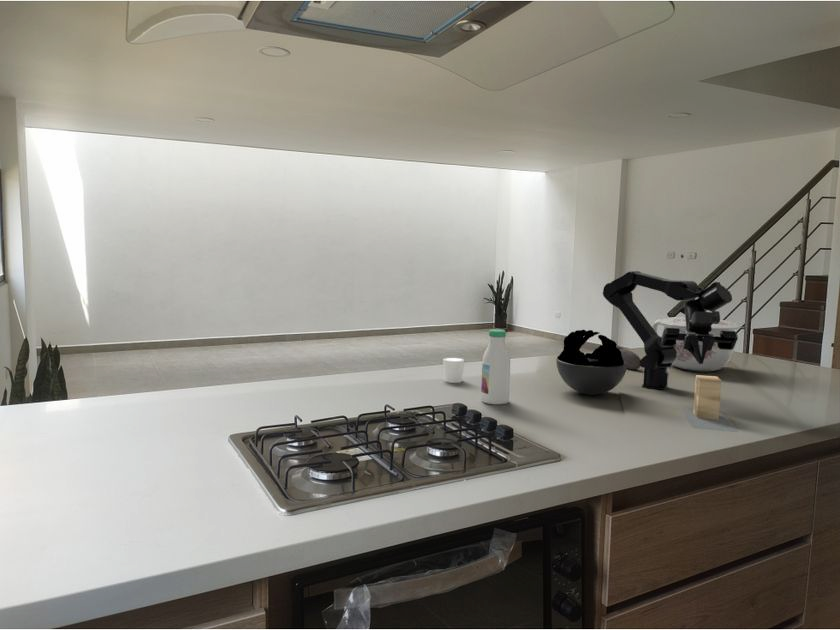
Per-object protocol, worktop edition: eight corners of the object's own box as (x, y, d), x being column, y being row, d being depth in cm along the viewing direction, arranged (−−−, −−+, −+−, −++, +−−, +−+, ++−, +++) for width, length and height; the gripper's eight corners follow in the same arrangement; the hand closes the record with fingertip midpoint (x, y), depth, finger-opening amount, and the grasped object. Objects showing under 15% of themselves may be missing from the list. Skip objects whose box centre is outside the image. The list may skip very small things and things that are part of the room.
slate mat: (681, 410, 157) (681, 409, 157) (722, 413, 154) (722, 412, 154) (693, 429, 140) (693, 427, 140) (739, 433, 138) (739, 431, 138)
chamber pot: (753, 377, 201) (758, 317, 198) (673, 375, 201) (677, 315, 199) (713, 361, 228) (718, 308, 226) (643, 359, 229) (646, 307, 226)
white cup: (439, 381, 184) (440, 360, 183) (446, 377, 191) (447, 356, 190) (460, 384, 182) (460, 362, 181) (466, 379, 188) (467, 358, 187)
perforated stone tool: (645, 371, 207) (646, 352, 206) (634, 372, 205) (635, 353, 204) (615, 363, 221) (616, 345, 220) (604, 364, 218) (605, 346, 218)
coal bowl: (558, 383, 185) (561, 324, 183) (625, 389, 179) (629, 328, 177) (550, 398, 167) (553, 333, 164) (625, 406, 160) (629, 338, 158)
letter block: (693, 412, 154) (695, 374, 153) (713, 414, 152) (716, 376, 151) (696, 417, 149) (699, 379, 148) (718, 419, 148) (721, 380, 146)
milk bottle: (511, 399, 164) (514, 329, 162) (506, 406, 157) (508, 332, 155) (484, 396, 167) (486, 327, 165) (478, 403, 160) (480, 331, 157)
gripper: (666, 299, 165) (669, 343, 156) (738, 302, 160) (747, 348, 151) (660, 323, 173) (662, 367, 164) (729, 326, 169) (736, 372, 159)
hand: (701, 363), depth 159 cm, fingers closed
